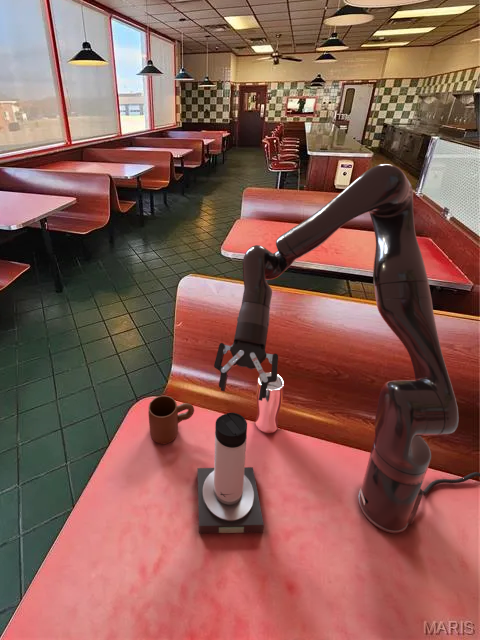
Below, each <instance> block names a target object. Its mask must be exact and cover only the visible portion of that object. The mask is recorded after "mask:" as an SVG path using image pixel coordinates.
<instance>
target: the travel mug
mask: <svg viewBox="0 0 480 640" xmlns="http://www.w3.org/2000/svg"><path fill="white" fill-rule="evenodd" d="M214 425H215V431H214V461H213V463H214V464H213V468H214V493H215V496H216V497H217V499H218V500H219V501H220V502H222V503H224V504H227V505H232V504H235V503H237V502H238V501H239V500H240V499H241V497H242V494H243V482H244V468H245V467H246V466H245V465H246V451H247V437H248V436H247V433H248V422H247V420H246V418H245V417H244V416H242V415H241V414H240V413H238V412H237V413H236V412H226V413H223V414H222V415H220V416H219V417H218V418H216V420H215V424H214Z"/></svg>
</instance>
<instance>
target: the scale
mask: <svg viewBox="0 0 480 640" xmlns="http://www.w3.org/2000/svg"><path fill="white" fill-rule="evenodd" d="M196 471H197V507H198V508H197V512H198V513H197V515H198V534H238V533H239V534H240V533H242V534H243V533H264V528H265V527H264V526H265V524H264V519H263V514H262V508H261V503H260V498H259V492H258V487H257V482H256V476H255V471H254V467H252V466H247V467H246V466H245V468H244V475H245V476H246V477H247V478H248V480H249V481H250V483H251V485H252V488H253V491H254V502H253V507H252V509H251V511H250V513H249V514H248V515H247V516H246V517H245V518H244V519H242V520H240V521H237V522H224V521H221V520H219V519H217V518H216V517H214V516H213V515H212V514H211V513H210V512H209V511H208V509H207V507H206V506H205V503H204V500H203V485H204V482H205V480H206V478H207V477H208V475H209V474H210V473H211V472H213V471H214V467H197V469H196Z"/></svg>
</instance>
